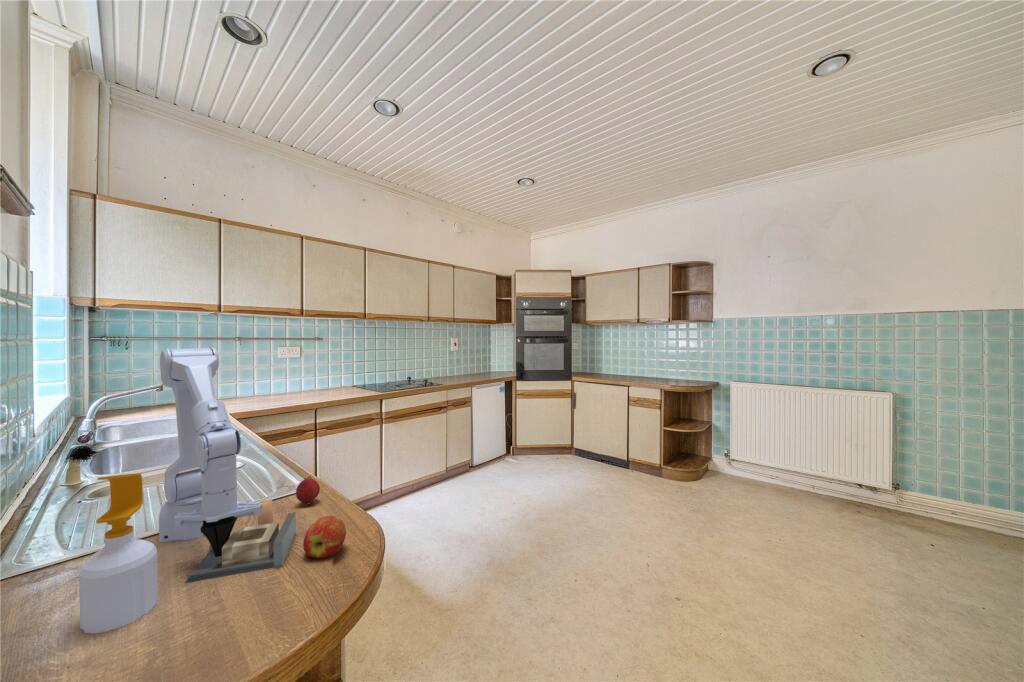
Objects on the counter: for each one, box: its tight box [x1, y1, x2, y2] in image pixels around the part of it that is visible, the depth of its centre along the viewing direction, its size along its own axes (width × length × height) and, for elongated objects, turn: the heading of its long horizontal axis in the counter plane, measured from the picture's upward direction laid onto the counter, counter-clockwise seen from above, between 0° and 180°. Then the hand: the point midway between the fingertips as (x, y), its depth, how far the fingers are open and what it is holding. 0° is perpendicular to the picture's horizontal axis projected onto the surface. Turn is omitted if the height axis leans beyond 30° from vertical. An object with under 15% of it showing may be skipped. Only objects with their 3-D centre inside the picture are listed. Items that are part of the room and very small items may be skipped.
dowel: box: [257, 499, 274, 525], centre depth 91 cm, size 3×3×7 cm
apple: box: [302, 515, 347, 560], centre depth 82 cm, size 8×8×8 cm
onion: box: [295, 474, 321, 505], centre depth 106 cm, size 6×6×8 cm
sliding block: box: [222, 522, 280, 566], centre depth 80 cm, size 8×8×4 cm
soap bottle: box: [78, 472, 159, 635], centre depth 64 cm, size 9×9×25 cm
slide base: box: [184, 512, 297, 584], centre depth 80 cm, size 16×13×6 cm
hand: (220, 553), depth 78 cm, fingers closed
